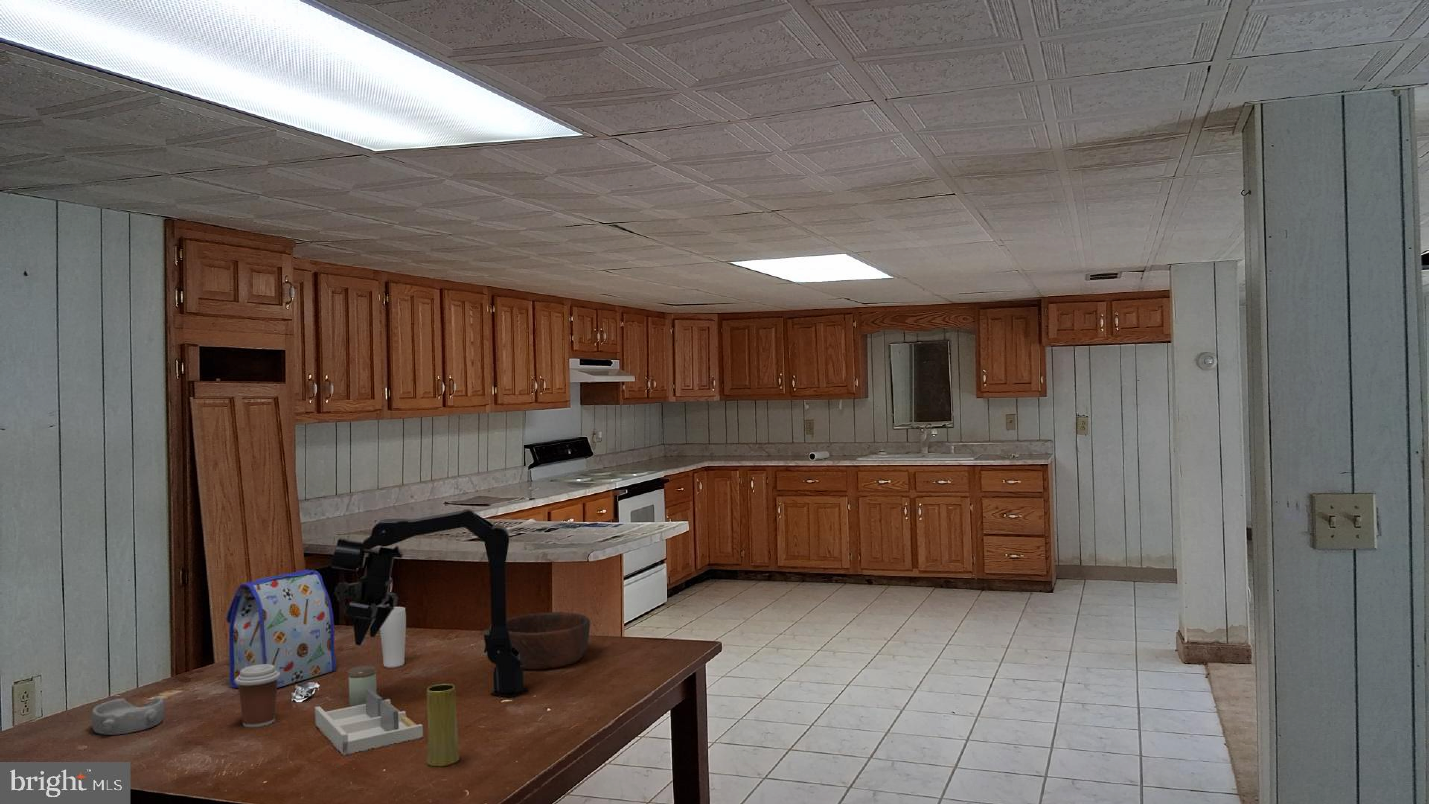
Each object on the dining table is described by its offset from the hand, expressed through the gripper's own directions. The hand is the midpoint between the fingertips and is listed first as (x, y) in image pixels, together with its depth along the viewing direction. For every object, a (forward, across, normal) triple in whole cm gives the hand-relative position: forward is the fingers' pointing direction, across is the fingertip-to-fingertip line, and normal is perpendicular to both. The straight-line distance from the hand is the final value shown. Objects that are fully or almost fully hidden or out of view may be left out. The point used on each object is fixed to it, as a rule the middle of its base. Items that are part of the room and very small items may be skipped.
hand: (365, 640), depth 224 cm
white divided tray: (+14, +17, +9) cm, 24 cm away
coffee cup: (+20, +9, -17) cm, 27 cm away
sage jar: (+15, -3, +1) cm, 15 cm away
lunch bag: (+20, -25, -27) cm, 42 cm away
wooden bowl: (+6, -36, +37) cm, 52 cm away
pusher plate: (+13, +11, +9) cm, 19 cm away
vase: (+11, +35, +30) cm, 48 cm away
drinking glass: (+14, -35, -2) cm, 38 cm away
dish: (+26, +8, -45) cm, 53 cm away
